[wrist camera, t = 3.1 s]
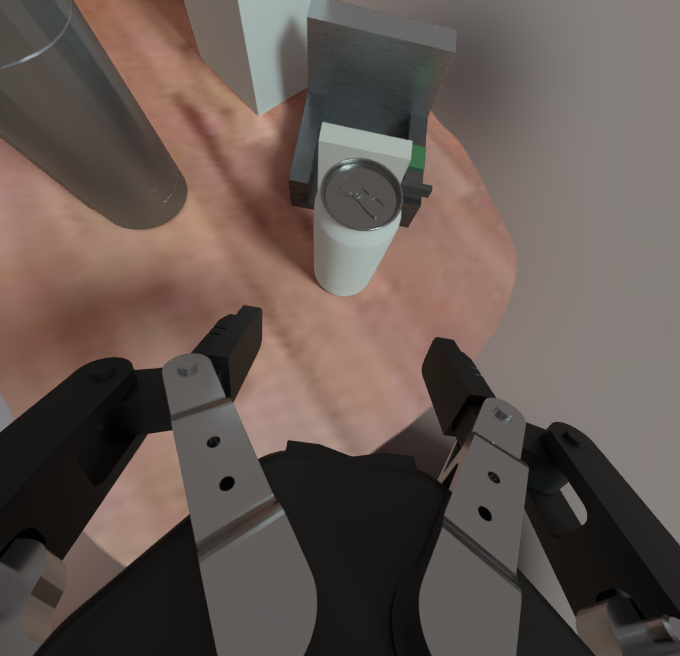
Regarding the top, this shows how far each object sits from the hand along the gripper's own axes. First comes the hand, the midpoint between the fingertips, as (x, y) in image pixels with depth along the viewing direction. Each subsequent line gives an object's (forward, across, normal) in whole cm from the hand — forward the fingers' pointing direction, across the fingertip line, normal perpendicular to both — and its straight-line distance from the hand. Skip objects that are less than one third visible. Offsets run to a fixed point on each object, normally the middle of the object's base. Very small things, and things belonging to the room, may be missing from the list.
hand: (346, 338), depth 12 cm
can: (+18, 0, +3) cm, 18 cm away
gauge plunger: (+23, -2, -3) cm, 23 cm away
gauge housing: (+28, 0, -7) cm, 29 cm away
